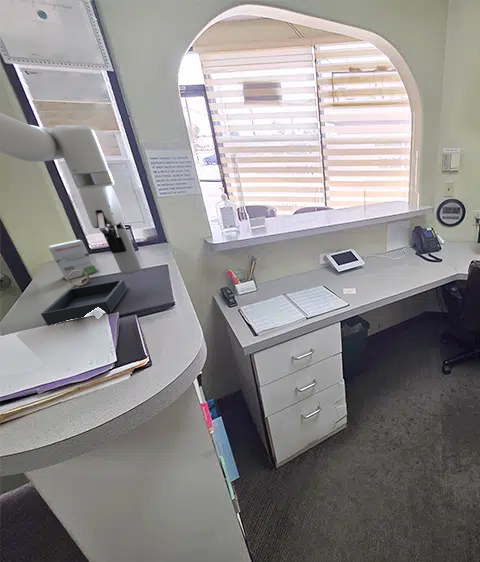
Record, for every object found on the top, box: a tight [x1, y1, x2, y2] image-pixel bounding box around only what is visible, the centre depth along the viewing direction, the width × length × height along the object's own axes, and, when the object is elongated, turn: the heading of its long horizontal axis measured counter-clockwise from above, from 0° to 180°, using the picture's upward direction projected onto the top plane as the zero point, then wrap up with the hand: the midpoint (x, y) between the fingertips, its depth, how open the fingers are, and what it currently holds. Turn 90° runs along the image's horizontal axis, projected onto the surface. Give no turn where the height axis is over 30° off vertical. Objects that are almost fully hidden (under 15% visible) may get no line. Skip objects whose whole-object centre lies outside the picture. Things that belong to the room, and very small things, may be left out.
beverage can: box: [111, 227, 142, 275], centre depth 85 cm, size 5×5×12 cm
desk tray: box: [40, 279, 128, 326], centre depth 86 cm, size 13×16×3 cm
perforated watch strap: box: [67, 270, 90, 287], centre depth 100 cm, size 3×5×5 cm, turn 147°
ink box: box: [47, 239, 98, 281], centre depth 107 cm, size 9×5×12 cm, turn 141°
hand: (122, 248), depth 85 cm, fingers closed on beverage can, 4 cm apart
